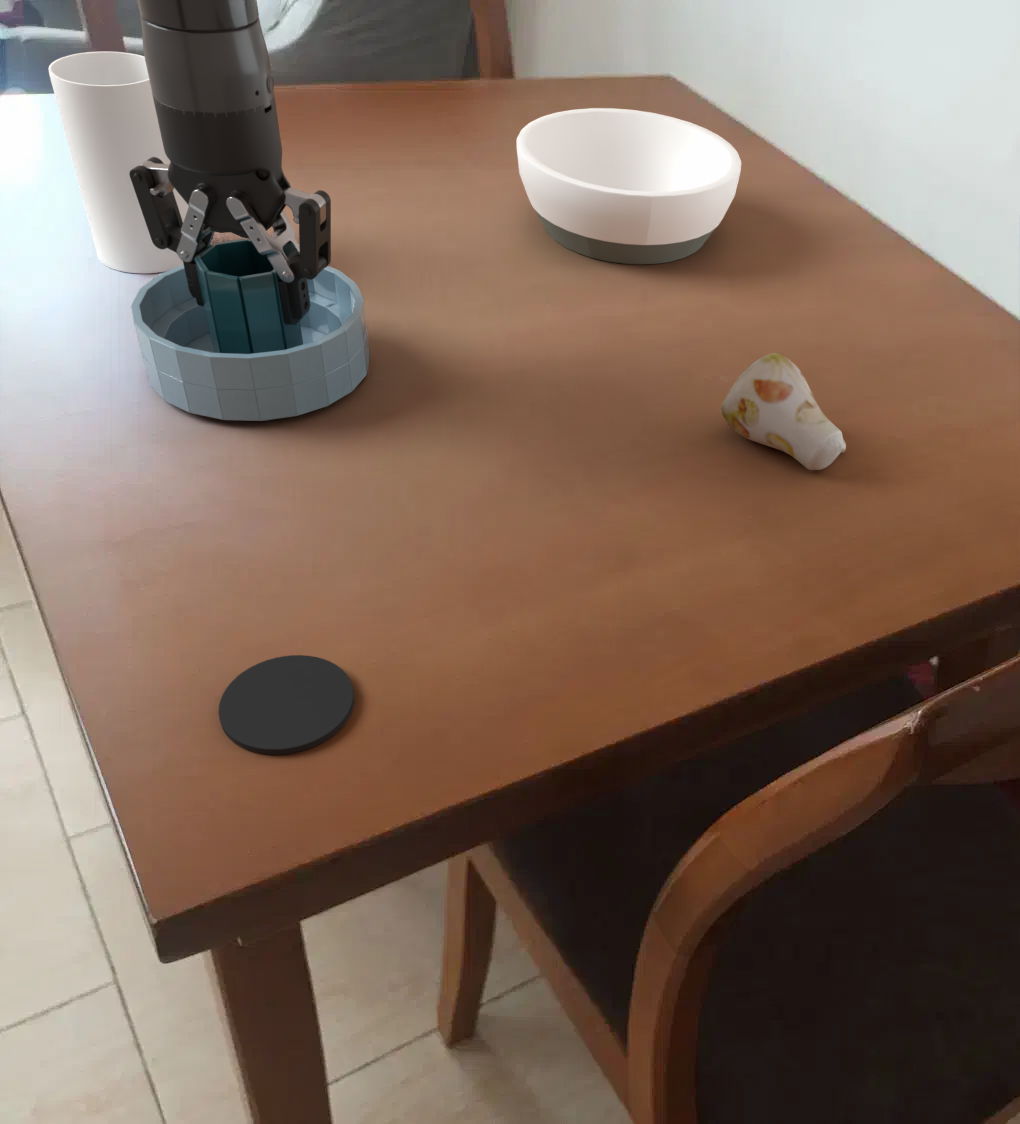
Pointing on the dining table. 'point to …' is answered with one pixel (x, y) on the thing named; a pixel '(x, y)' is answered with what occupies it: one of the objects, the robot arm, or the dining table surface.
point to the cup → (113, 152)
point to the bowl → (627, 182)
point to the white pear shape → (782, 413)
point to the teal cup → (243, 300)
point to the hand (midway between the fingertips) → (252, 310)
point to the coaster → (286, 704)
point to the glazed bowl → (251, 379)
